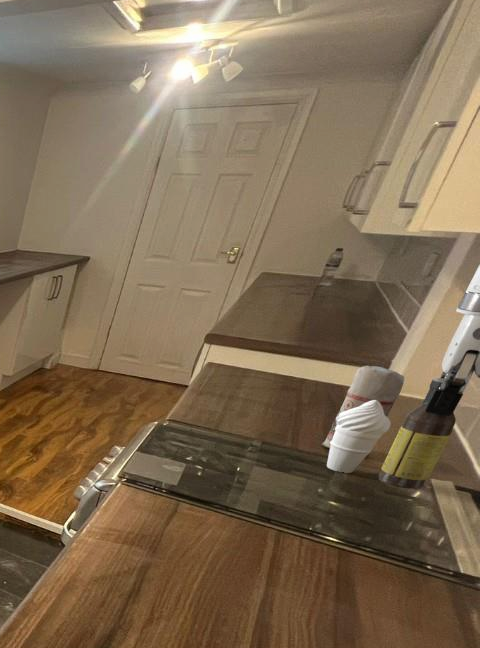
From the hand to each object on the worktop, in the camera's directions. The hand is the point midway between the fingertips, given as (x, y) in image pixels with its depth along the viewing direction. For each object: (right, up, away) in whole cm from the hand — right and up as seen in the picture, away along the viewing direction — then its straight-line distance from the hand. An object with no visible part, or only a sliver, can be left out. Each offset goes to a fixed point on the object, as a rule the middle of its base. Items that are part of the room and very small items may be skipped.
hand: (437, 409), depth 103 cm
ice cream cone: (+7, -11, +25) cm, 28 cm away
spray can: (+18, -6, +35) cm, 40 cm away
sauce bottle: (0, -13, +7) cm, 15 cm away
